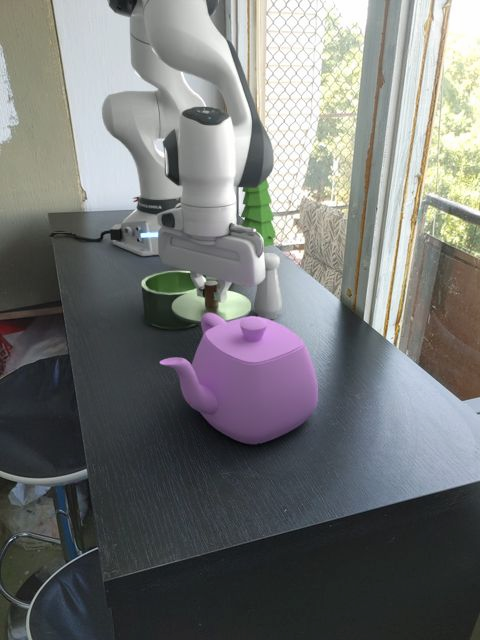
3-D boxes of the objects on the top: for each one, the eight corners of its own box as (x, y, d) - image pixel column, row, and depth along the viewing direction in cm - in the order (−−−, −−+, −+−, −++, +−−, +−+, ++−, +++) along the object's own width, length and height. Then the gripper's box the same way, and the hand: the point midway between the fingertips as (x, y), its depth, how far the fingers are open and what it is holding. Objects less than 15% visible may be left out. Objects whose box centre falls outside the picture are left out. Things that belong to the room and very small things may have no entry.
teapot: (246, 362, 91) (246, 281, 83) (333, 420, 76) (343, 328, 69) (125, 409, 78) (112, 318, 71) (203, 489, 64) (198, 385, 56)
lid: (155, 314, 90) (153, 286, 87) (205, 289, 100) (204, 263, 98) (219, 335, 83) (218, 305, 81) (266, 306, 94) (266, 279, 91)
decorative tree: (250, 253, 142) (251, 134, 127) (282, 258, 138) (287, 137, 124) (233, 264, 134) (232, 139, 120) (267, 270, 131) (270, 142, 116)
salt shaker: (285, 312, 109) (287, 252, 103) (276, 323, 104) (279, 261, 98) (258, 308, 111) (259, 248, 104) (249, 319, 106) (249, 257, 100)
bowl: (131, 319, 105) (127, 284, 101) (173, 299, 114) (171, 266, 110) (179, 336, 99) (177, 299, 95) (219, 313, 108) (219, 279, 104)
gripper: (274, 225, 81) (271, 306, 88) (174, 206, 91) (179, 280, 98) (251, 235, 77) (250, 319, 83) (149, 213, 86) (155, 291, 93)
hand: (211, 298), depth 91 cm, fingers closed on lid, 2 cm apart
